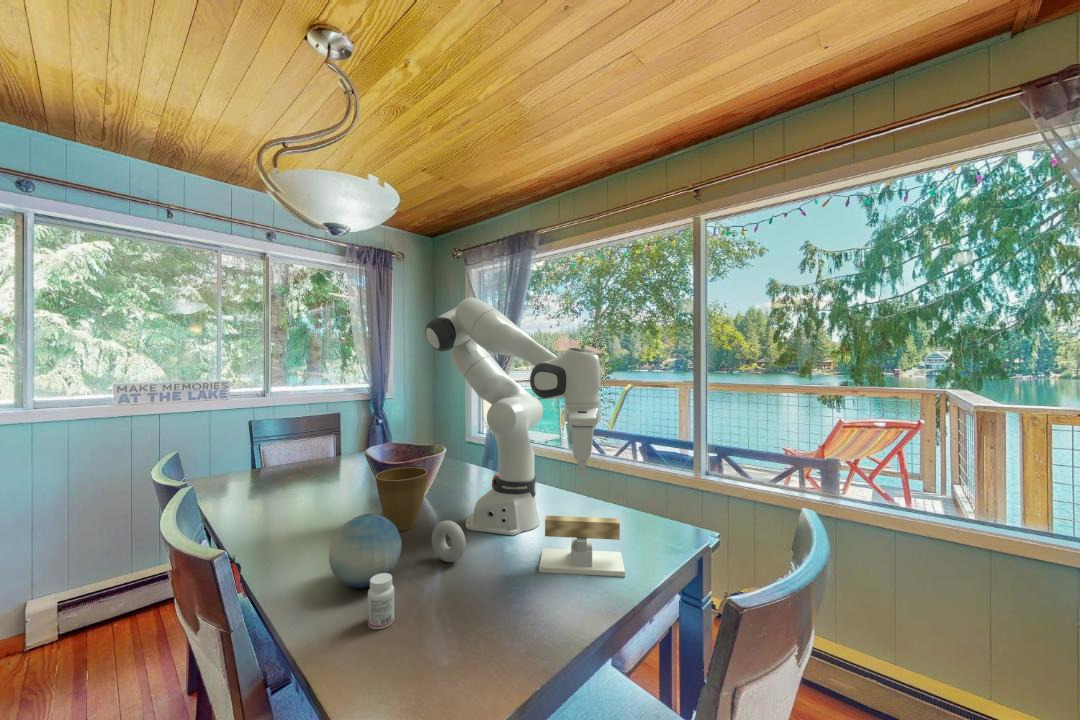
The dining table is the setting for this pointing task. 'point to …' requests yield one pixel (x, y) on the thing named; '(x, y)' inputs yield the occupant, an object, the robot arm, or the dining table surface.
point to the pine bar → (582, 527)
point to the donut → (456, 537)
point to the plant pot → (402, 495)
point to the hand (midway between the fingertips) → (582, 470)
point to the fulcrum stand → (582, 560)
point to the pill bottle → (381, 601)
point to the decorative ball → (364, 550)
